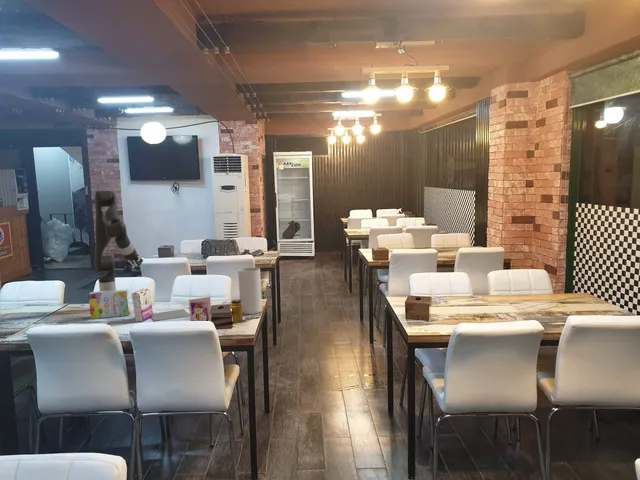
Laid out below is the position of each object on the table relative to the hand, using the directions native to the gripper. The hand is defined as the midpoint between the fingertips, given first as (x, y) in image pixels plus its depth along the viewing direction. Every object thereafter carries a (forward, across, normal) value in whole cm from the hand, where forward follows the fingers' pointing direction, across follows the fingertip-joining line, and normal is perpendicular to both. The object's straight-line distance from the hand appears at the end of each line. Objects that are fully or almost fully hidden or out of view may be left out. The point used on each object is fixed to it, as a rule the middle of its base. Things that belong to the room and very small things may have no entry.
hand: (138, 269), depth 298 cm
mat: (+16, -18, +24) cm, 34 cm away
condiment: (+8, -62, +38) cm, 73 cm away
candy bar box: (+11, -6, +28) cm, 31 cm away
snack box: (+16, +18, +21) cm, 32 cm away
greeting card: (+3, -44, +43) cm, 61 cm away
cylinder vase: (+21, -65, +23) cm, 72 cm away
